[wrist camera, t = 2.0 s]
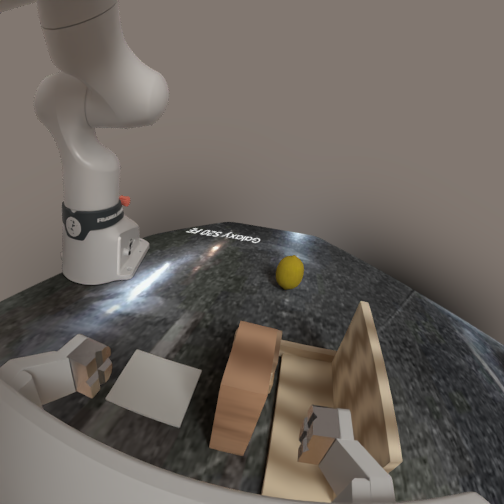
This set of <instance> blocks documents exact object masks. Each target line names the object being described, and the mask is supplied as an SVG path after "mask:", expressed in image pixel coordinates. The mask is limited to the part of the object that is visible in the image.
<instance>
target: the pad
mask: <svg viewBox="0 0 504 504" xmlns="http://www.w3.org/2000/svg"><path fill="white" fill-rule="evenodd" d="M201 372H202V370H200V369H196V368H193V367H190V366H186V365H183V364H180V363H176V362H173V361H170V360H167V359H164V358H161V357H158V356H155V355H152V354H149V353H146V352H143V351H141V350H138V349H137V350H136V351H135V353H134V354H133V356H132V357H131V359H130V360H129V362H128V363H127V365H126V367H125V368H124V370H123V371H122V373H121V374H120V376H119V378H118V379H117V381H116V382H115V384H114V385H113V387H112V389H111V390H110V392H109V393H108V395H107V397H106V398H105V399H106V400H107V401H109V402H111V403H113V404H116V405H118V406H121V407H123V408H125V409H128V410H130V411H133V412H135V413H138V414H140V415H143V416H146V417H148V418H151V419H154V420H157V421H160V422H162V423H165V424H168V425H171V426H174V427H177V428H180V426H181V423H182V421H183V418H184V416H185V413H186V411H187V408H188V405H189V403H190V400H191V398H192V395H193V393H194V390H195V388H196V385H197V382H198V380H199V377H200V375H201Z"/></svg>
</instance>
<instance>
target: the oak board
mask: <svg viewBox="0 0 504 504" xmlns="http://www.w3.org/2000/svg"><path fill="white" fill-rule="evenodd" d="M277 331H278V329H273V328H269V327H265V326H260V325H256V324H252V323H248V322H244V321H240V324H239V328H238V331H237V334H236V337H235V340H234V344H233V347H232V350H231V353H230V356H229V360H228V363H227V366H226V369H225V372H224V375H223V379H222V382H221V386H220V391H219V396H218V402H217V407H216V413H215V418H214V423H213V429H212V434H211V440H210V445H209V448H212V449H216V450H220V451H224V452H228V453H232V454H236V455H241V456H243V455H244V452H245V450H246V448H247V445H248V443H249V441H250V438H251V436H252V433H253V431H254V428H255V426H256V423H257V421H258V418H259V416H260V413H261V411H262V408H263V406H264V403H265V401H266V398H267V395H268V390H269V383H270V377H271V371H272V364H273V358H274V351H275V344H276V338H277Z"/></svg>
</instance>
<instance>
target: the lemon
mask: <svg viewBox="0 0 504 504" xmlns="http://www.w3.org/2000/svg"><path fill="white" fill-rule="evenodd" d="M303 273H304V267H303V263H302V262H301V260H300V259H299V258H297V257H296V256H295V255H293V256H287V257H285V258H283V259H282V260H281V261H280V263H279V265H278V267H277V270H276V280H277V283H278V284H279V285H280V286H281V287H282V288H283V289H284V290H287V289H293V288H295V287H297V286H298V285H299V284H300V282H301V280H302V278H303Z"/></svg>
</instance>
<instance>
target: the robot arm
mask: <svg viewBox="0 0 504 504" xmlns="http://www.w3.org/2000/svg"><path fill="white" fill-rule="evenodd" d="M34 2H37V9H38V14H39V19H40V24H41V27H42V31H43V34H44V38H45V42H46V45H47V48H48V52H49V55H50V58H51V61H52V62H53V64H54V65H55V66H56V67H57V68H58V69H60V70H61V72H58V73H55V74H52V75H50V76H47V77H46V78H45V79H43V81H42V82H41V83H40V85H39V86H38V89H37V91H36V94H35V97H34V110H35V113H36V116H37V118H38V119H39V121H40V122H41V123H42V124H43V125H44V126H45V127H46V128H47V129H48V130H49V131H50V133H51V135H52V136H53V138H54V140H55V142H56V145H57V147H58V150H59V153H60V157H61V162H62V172H63V191H64V202H63V203H62V219H63V223H64V224H63V251H62V252H61V259H62V261H63V264H62V272H63V274H64V275H65V276H66V277H67V278H68V279H69V280H71V281H73V282H76V283H80V284H86V285H96V284H103V283H107V282H111V281H115V280H127V279H131V278H132V277H133V276H134V274H135V272H136V270H137V268H138V267H139V265H140V263H141V261H142V260H143V258H144V256H145V254H146V253H147V251H148V249H149V243H148V242H147V241H145V240H144V239H142V238H139V226H138V225H137V223H135V222H134V221H133V220H131V219H130V218H128V217H127V216H126V215H124V212H123V208H122V205H124V206H128V205H129V203H130V202H129V201H130V198H129V197H127V196H120V197H119V185H120V162H119V160H118V158H117V156H116V155H115V153H114V152H113V151H111V150H110V149H108V148H106V147H105V146H103V145H102V144H101V143H100V142H99V140H98V139H97V136H96V133H95V127H96V128H97V127H99V128H125V129H127V128H135V127H142V126H149V125H153V124H154V123H155V122H156V121H158V120H159V118H160V117H161V116H162V115H163V113H164V111H165V110H166V107H167V104H168V100H169V89H168V85H167V83H166V81H165V79H164V77H163V76H162V75H161V74H160V73H159V72H157V71H155V70H153V69H151V68H150V67H148V66H147V65H146V64H144V63H143V62H142V61H141V60H140V59H139V58H138V57H137V56H136V55H135V54H134V53H133V52H132V50H131V49H130V48H129V46H128V45H127V43H126V41H125V39H124V35H123V32H122V27H121V21H120V13H119V0H0V13H1V12H4V11H8V10H11V9H14V8H18V7H21V6H24V5H28V4H31V3H34ZM110 355H111V351H110V348H109V347H108V346H106V345H104V344H102V343H99V342H97V341H95V340H93V339H91V338H88V337H86V336H84V335H82V334H77V335H76V336H75V337H74V338H73V339H71V340H70V341H69V342H68V343H67V344H65V345H64V346H63V347H62V348H61V349H60V350H59V351H57V352H56V351H51V352H46V353H41V354H36V355H31V356H26V357H21V358H16V359H11V360H9V361H8V362H7V363H5V364H4V365H3V366H2V367H0V504H490V503H489V502H488V501H486V500H485V499H484V498H483V497H482V496H480V495H479V494H477V493H476V492H464V493H459V494H454V495H449V496H443V497H437V498H430V499H423V500H414V501H404V502H395V495H394V488H393V482H392V477H391V476H390V475H389V474H388V473H387V472H386V471H385V470H384V469H383V468H382V467H381V466H380V465H379V464H378V462H377V461H376V460H375V459H374V458H373V457H372V456H371V455H370V454H369V453H368V452H367V450H366V449H365V448H364V447H363V446H362V445H361V444H360V443H359V442H358V441H357V440H354V435H353V427H352V420H351V412H350V410H349V409H341V408H332V407H325V406H318V405H311V406H310V408H309V410H308V417H306V418H304V420H303V423H302V425H301V428H300V433H299V441H300V442H301V445H300V446H299V448H298V461H297V462H301V463H308V464H314V465H319V468H320V470H321V471H322V473H323V475H324V476H325V478H326V479H327V481H328V483H329V484H330V486H331V488H332V489H333V491H334V493H335V494H336V496H337V497H336V498H335V499H334V500H333V501H332V502H331V503H327V502H313V501H302V500H293V499H285V498H278V497H271V496H265V495H259V494H254V493H249V492H244V491H239V490H234V489H230V488H226V487H222V486H218V485H214V484H210V483H206V482H203V481H199V480H196V479H192V478H189V477H186V476H183V475H180V474H177V473H174V472H171V471H168V470H165V469H162V468H159V467H157V466H154V465H151V464H149V463H146V462H144V461H141V460H139V459H136V458H134V457H132V456H129V455H127V454H125V453H122V452H120V451H118V450H116V449H114V448H112V447H109V446H107V445H105V444H103V443H101V442H99V441H97V440H95V439H93V438H91V437H89V436H87V435H86V434H84V433H82V432H80V431H78V430H76V429H75V428H73V427H71V426H69V425H68V424H66V423H64V422H62V421H61V420H59V419H57V418H56V417H54V416H53V415H51V414H49V413H48V412H46V411H45V410H44V409H43V407H42V405H44V404H47V403H49V402H52V401H54V400H57V399H59V398H62V397H64V396H67V395H69V394H72V393H74V392H76V391H77V392H79V393H82V394H84V395H86V396H88V397H90V398H93V397H94V396H95V395H96V394H97V392H98V391H99V390H100V384H103V383H106V382H107V380H108V379H109V377H110V375H111V372H112V362H111V361H110V359H109V358H108V357H109V356H110Z"/></svg>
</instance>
